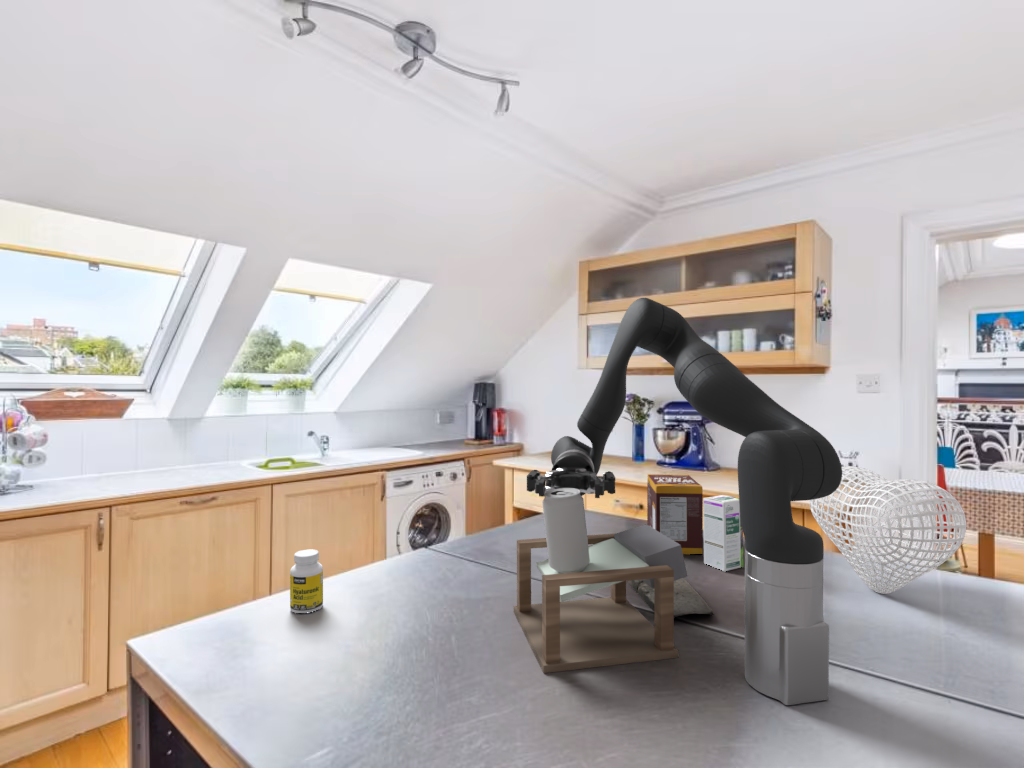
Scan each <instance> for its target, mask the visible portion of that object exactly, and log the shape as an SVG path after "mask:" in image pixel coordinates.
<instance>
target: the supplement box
mask: <svg viewBox="0 0 1024 768" xmlns="http://www.w3.org/2000/svg"><path fill="white" fill-rule="evenodd" d="M646 483H647V489H646V491H647V496H646V498H647V499H646V500H647V501H646V502H647V508H646V509H647V511H646V514H647V515H646V517H647V522H646V523H647V525H648V526H650V527H652V528H653V529H655V530H657V531H658V532H660V533H662V534H663V535H665V536H667V537H668V538H670V539H672V540H673V541H675V542H677V543H678V544H680V545H681V549H682V553H683V555H690V554H703V555H704V531H703V498H704V496H703V491H704V489H703V486H702V485H701V484H700V483H698V481H696V480H695V479H694V478H693V477H691V475H689V474H670V473H669V474H667V473H665V474H663V473H660V474H658V473H657V474H656V473H647V482H646Z"/></svg>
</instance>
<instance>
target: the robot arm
mask: <svg viewBox="0 0 1024 768" xmlns="http://www.w3.org/2000/svg"><path fill="white" fill-rule="evenodd" d="M621 318H622V319H621V321H620V324H619V326H618V328H617V331H616V334H615V336H614V339H613V342H612V344H611V346H610V350H609V352H608V355H607V357H606V361H605V364H604V366H603V369H602V372H601V375H600V377H599V379H598V382H597V384H596V386H595V389H594V390H593V393H592V395H591V396H590V398H589V400H588V402H587V403H586V405H585V407H584V409H583V411H582V412H581V414H580V417H579V418H578V420H577V422H576V425H577V429H578V431H580V433H581V434H582V435H583V436H585V437H586V438H587V439H588V440H589V442H590V443H591V446H592V447H591V446H590V445H587V444H586V443H584V442H582V441H580V440H578V439H577V438H574V437H573V436H569V435H565V436H562V437H561V438H559V439H558V440H557V441H556V442H555V444H554V445H553V447H552V451H551V454H550V459H551V464H552V468H551V470H549V471H546V472H545V474H541V471H540V470H537V469H533V470H531V471H529V473H528V474H527V475H526V492H530V493H533V492H534V493H535V494H537V495H538V497H544V493H545V492H547V491H549V490H553V489H558V488H575V489H579V490H580V495H581V496H582V497H583V496H584V495H586V494H587V495H593V494H594V499H600V496H604V495H605V492H607V493H608V494H610V495H614V494H616V476H615V474H614V473H613V472H612V471H608V470H607V471H605V472H604V473H603V474H602V476H600V475H599V476H598V474H599V471H600V468H601V465H602V459H603V455H604V451H605V447H606V444H607V443H608V439H609V437H610V435H611V433H612V432H613V429H614V428H615V427H616V424H617V423H618V421H619V419H620V418H621V415H622V414H623V412H624V409H625V405H626V400H627V372H628V371H627V370H628V366H629V361H630V359H631V357H632V355H633V353H634V351H636V348H637V347H638V348H641V349H642V350H645V351H648V352H650V353H652V354H655V355H657V356H658V357H660V358H663V360H664V361H666V362H668V363H669V364H670V365H671V366H672V367H673V369H674V370H673V379H674V384H675V386H676V388H677V389H678V391H679V393H680V394H681V396H682V397H683V398H684V399H685V400H686V401H687V403H689V405H690V406H691V407H692V408H693V410H695V411H696V413H698V414H699V415H701V416H702V417H703V418H705V419H707V420H709V421H710V422H712V423H715V424H716V425H718V426H721V427H723V428H725V429H727V430H729V431H732V432H734V433H736V434H738V435H741V436H742V437H743V438H744V439H743V441H742V442H741V445H740V447H739V451H738V455H737V484H738V498H739V506H740V521H741V526H742V530H743V538H744V679H745V681H746V682H747V684H748V685H750V686H751V687H752V688H753V689H754V690H756V691H757V692H759V693H760V694H763V695H765V696H767V697H770V698H773V699H775V700H778V701H780V702H781V703H782V704H783V705H785V706H791V705H799V704H806V703H814V702H820V701H827V700H829V698H830V697H829V695H830V694H829V691H830V690H829V687H830V686H829V683H830V682H829V681H830V674H829V673H830V671H829V670H830V669H829V667H830V664H829V663H830V626H829V624H828V623H827V622H825V621H824V557H825V556H824V553H825V552H824V550H825V549H824V540H823V537H822V536H821V535H820V533H818V532H817V531H816V530H813V529H812V528H810V527H809V528H808V527H806V526H804V525H800V524H797V523H795V522H794V520H793V513H792V512H793V511H792V502H801V501H809V500H813V499H815V500H816V499H818V498H819V499H821V498H823V497H826V496H828V495H831V494H832V493H833V492H834V491H836V489H837V488H838V489H839V485H840V483H841V480H842V473H843V472H842V463H841V458H840V456H839V455H838V453H837V451H836V449H835V447H834V446H833V445H832V443H831V442H830V441H829V440H828V439H827V438H826V436H824V435H823V434H822V433H821V432H819V431H818V430H816V429H815V428H814V427H813V426H811V425H809V424H808V423H806V422H805V421H804V420H802V419H801V418H799V417H797V416H796V415H794V414H793V413H792V412H790V411H789V410H788V409H786V408H784V407H783V406H782V405H780V404H779V403H778V402H776V401H775V400H774V399H773V398H772V397H771V396H770V395H768V394H767V392H765V391H764V390H763V389H761V388H760V387H759V386H758V385H756V383H754V381H752V380H750V379H749V378H748V377H747V375H745V374H744V373H743V372H742V371H741V370H740V369H739V368H738V367H737V366H736V365H735V364H734V363H732V362H731V361H730V360H729V359H728V358H727V357H726V356H725V355H723V354H722V353H721V352H719V351H718V350H717V349H716V348H715V347H713V346H712V345H711V344H710V343H708V342H706V341H704V340H703V339H702V338H701V337H700V336H699V335H698V334H697V332H696V331H695V330H694V329H693V328H692V326H691V325H690V324H689V322H688V321H687V320H686V318H685V317H684V316H683V315H682V314H681V313H679V312H678V311H677V310H675V309H673V308H671V307H669V306H667V305H664V304H663V303H660V302H658V301H656V300H654V299H650V298H648V297H640V298H638V299H636V300H634V301H633V302H632V303H631V304H630V305H629V306H628V307H627V309H626V311H625V313H624V314H623V316H622V317H621ZM828 497H829V496H828ZM544 498H545V497H544Z"/></svg>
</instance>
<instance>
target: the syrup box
mask: <svg viewBox="0 0 1024 768" xmlns="http://www.w3.org/2000/svg"><path fill="white" fill-rule="evenodd" d="M703 563H704V565H706V564H707V565H706V566H708V565H710V566H712V567H711V568H713V567H714V568H713V569H715V568H717V569H716V570H718V569H720V570H719V571H721V570H722V572H723V573H726V571H727V572H728V571H732V570H737V569H741V567H742V568H744V533H743V530H742V526H741V521H740V506H739V497H736V496H732V495H724V494H720V495H715V496H709V497H703ZM710 566H709V567H710Z"/></svg>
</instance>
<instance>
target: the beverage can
mask: <svg viewBox="0 0 1024 768" xmlns="http://www.w3.org/2000/svg"><path fill="white" fill-rule="evenodd" d="M542 512H543V521H544V529H545V530H544V531H545V538H546V540H547V547H546V548H547V549H546V550H547V557H548V558H547V559H549V565H550V567H551V568H553V569H554V570H555V571H557V572H560V573H575V572H580V571H582V570H584V569H585V568H586V566H587V565H588V564H589V563H590V558H589V548H588V546H589V545H588V538H587V535H588V531H587V520H586V511H585V500H584V498H583V496H581V495H580V490H579V489H575V488H558V489H553V490H549V491H547V492H545V493H544V498H543V500H542Z"/></svg>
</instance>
